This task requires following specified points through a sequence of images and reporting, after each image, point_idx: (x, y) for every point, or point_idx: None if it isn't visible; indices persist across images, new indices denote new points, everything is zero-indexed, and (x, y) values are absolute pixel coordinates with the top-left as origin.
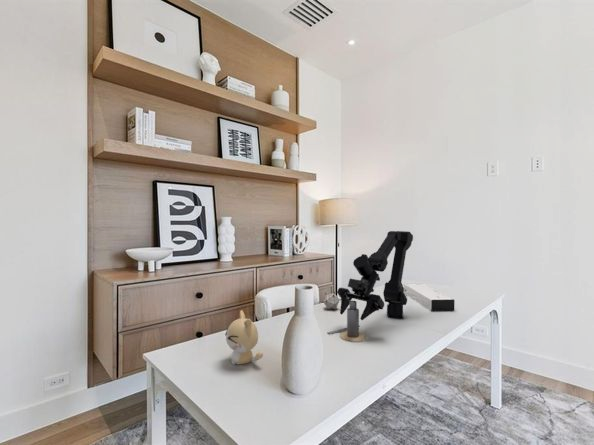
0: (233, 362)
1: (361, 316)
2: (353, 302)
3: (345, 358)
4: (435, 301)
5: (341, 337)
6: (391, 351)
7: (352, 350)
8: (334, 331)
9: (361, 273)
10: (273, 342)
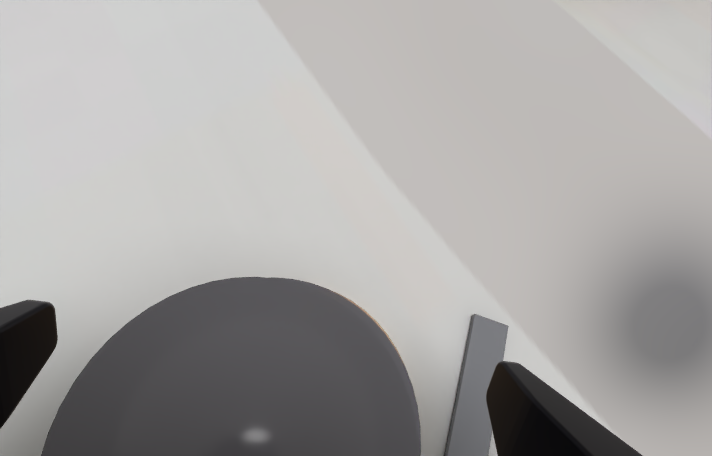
0: None
1: (8, 318)
2: (163, 319)
3: (167, 43)
4: None
5: (347, 299)
6: None
7: (167, 155)
8: (481, 396)
9: None
10: (610, 29)
